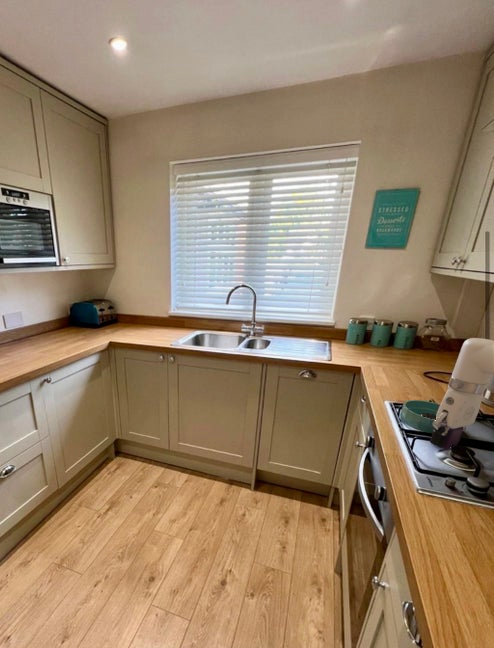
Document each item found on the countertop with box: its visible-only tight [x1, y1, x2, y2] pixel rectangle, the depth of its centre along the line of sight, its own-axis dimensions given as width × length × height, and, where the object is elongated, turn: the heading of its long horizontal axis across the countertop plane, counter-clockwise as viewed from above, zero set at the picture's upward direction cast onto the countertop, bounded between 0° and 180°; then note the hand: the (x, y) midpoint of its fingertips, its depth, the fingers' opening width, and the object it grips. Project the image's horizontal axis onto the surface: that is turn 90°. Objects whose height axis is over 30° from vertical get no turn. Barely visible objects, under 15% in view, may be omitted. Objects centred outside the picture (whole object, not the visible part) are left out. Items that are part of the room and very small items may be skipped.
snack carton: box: [429, 422, 464, 451], centre depth 94 cm, size 4×4×6 cm
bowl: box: [399, 399, 446, 434], centre depth 106 cm, size 15×15×5 cm
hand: (444, 442), depth 94 cm, fingers open, 6 cm apart
